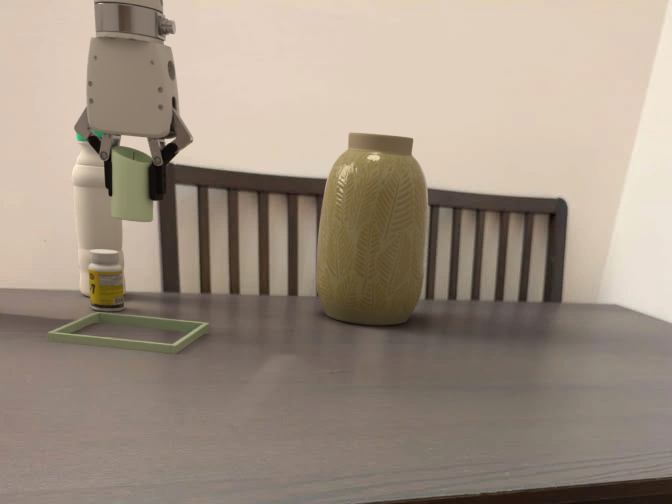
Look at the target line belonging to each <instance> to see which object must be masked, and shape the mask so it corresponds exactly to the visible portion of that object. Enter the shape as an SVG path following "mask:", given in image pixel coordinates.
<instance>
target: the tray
mask: <svg viewBox="0 0 672 504" xmlns="http://www.w3.org/2000/svg"><path fill="white" fill-rule="evenodd" d="M92 324H105V325H114V326H115V325H116V326H123V327H124V326H125V327H135V328H146V329H155V330H164V331H176V332H183V333H185V332H186V335H184V336H182V337H181V338H179V339H178V340H177V341H175V342H174V343H165V342H155V341H145V340H137V339H127V338H119V337H106V336H97V335H86V334H76V333H74V332H77V331H79V330H81V329H84V328H85V327H87V326H90V325H92ZM203 335H210V322H204V321H196V320H195V321H193V320H186V319H185V320H183V319H174V318H164V317H154V316H143V315H133V314H123V313H115V312H101V311H95V312H92V313H90V314H88V315H86V316H85V315H84V316H83V317H81V318H79V319H76V320H74V321H72V322H69V323H67V324H65V325H62V326H59V327H57V328H55V329H52V330H50V331H48V332H47V341H48V342H54V343H55V342H56V343H65V344H74V345H75V344H76V345H83V346H84V345H85V346H95V347H103V348H113V349H115V348H116V349H123V350H124V349H125V350H133V351H143V352H153V353H163V354H173V355H176V354H178V353H180V352H181V351H182V350H183V349H186V348H187V347H188V346H189V345H191V344H192V343H193V342H195V341H196V340H198V339H199V338H201V337H202V336H203Z"/></svg>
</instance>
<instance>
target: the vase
mask: <svg viewBox="0 0 672 504" xmlns="http://www.w3.org/2000/svg"><path fill="white" fill-rule="evenodd" d="M347 139H348V141H347V149H346V150H345V151H343V152H342V153H341V154H340V155H339V156H338V157H337V158H336V159H335V161H334V163H333V164H332V166H331V168H330V170H329V173H328V175H327V179H326V183H325V187H324V192H323V197H322V201H321V202H322V203H321V209H320V215H319V216H320V217H319V226H318V234H317V248H316V266H315V267H316V268H315V269H316V270H315V271H316V272H315V283H316V286H315V287H316V292H317V296H318V299H319V301H320V304H321V306H322V309H323V311H324V314H325V315H326V316H327V317H329V318H331V319H333V320H336V321H340V322H343V323H349V324H354V325H361V326H380V327H382V326H383V327H384V326H385V327H386V326H387V327H388V326H396V325H401V324H404V323H406V322H408V321H409V319H410V318H411V315H412V314H413V312H414V311H415V309H416V307H417V305H418V304H419V302H420V299H421V295H422V291H423V285H424V278H425V269H426V261H427V249H428V233H429V192H428V183H427V178H426V176H425V173H424V169H423V168H422V166H421V164H420V163H419V161H418V160H417V158H415V157H414V155H413V148H414V147H413V146H414V137H408V136H401V135H390V134H379V133H366V132H349V133H348V138H347Z"/></svg>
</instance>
